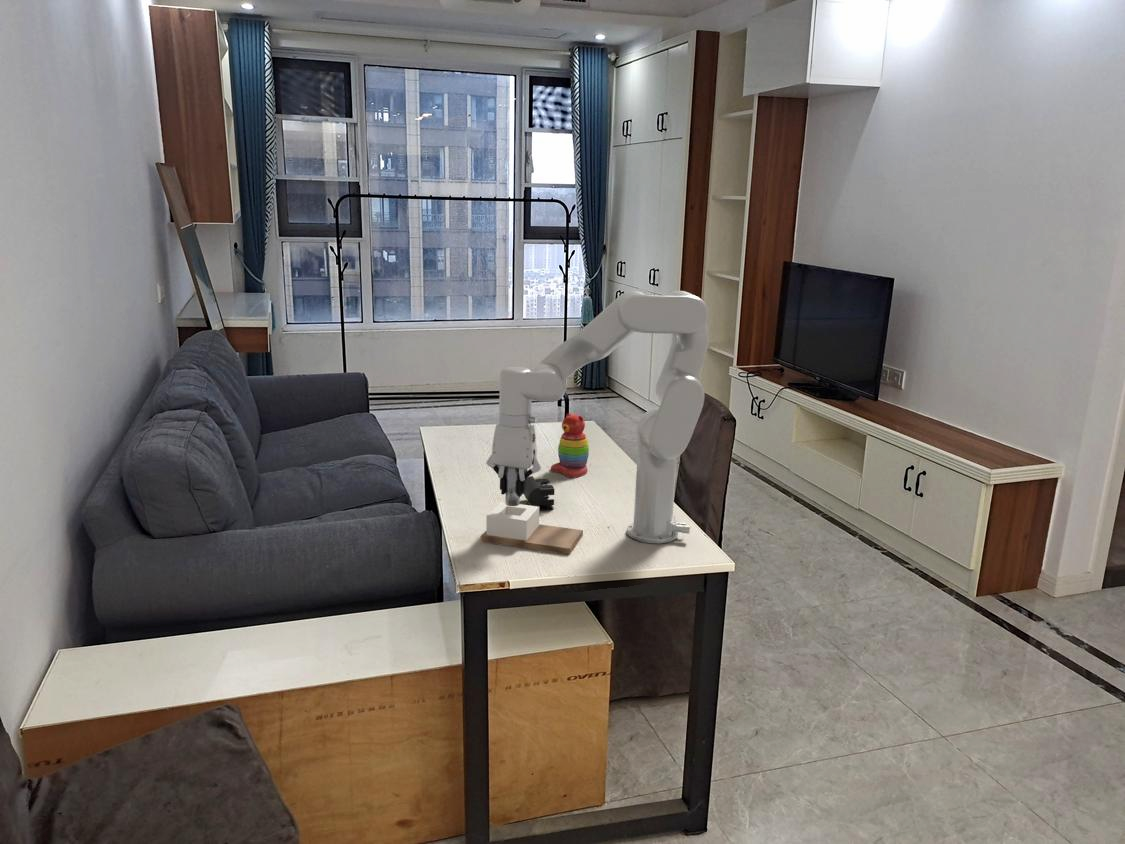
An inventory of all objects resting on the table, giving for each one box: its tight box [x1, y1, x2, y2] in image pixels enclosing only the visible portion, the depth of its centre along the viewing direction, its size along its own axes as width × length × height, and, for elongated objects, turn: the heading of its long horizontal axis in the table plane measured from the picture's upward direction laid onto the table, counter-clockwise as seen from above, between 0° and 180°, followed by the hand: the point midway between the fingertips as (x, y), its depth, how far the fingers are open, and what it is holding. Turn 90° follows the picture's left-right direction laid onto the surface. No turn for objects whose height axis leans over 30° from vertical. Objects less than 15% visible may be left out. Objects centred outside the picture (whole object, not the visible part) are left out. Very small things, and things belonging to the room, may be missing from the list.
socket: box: [485, 501, 540, 541], centre depth 201 cm, size 10×10×5 cm
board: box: [480, 523, 584, 555], centre depth 201 cm, size 22×12×2 cm, turn 74°
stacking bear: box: [550, 413, 590, 479], centre depth 251 cm, size 11×10×18 cm
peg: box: [504, 467, 521, 506], centre depth 199 cm, size 3×3×10 cm
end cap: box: [523, 475, 555, 512], centre depth 223 cm, size 10×7×7 cm
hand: (512, 493), depth 199 cm, fingers closed on peg, 3 cm apart
